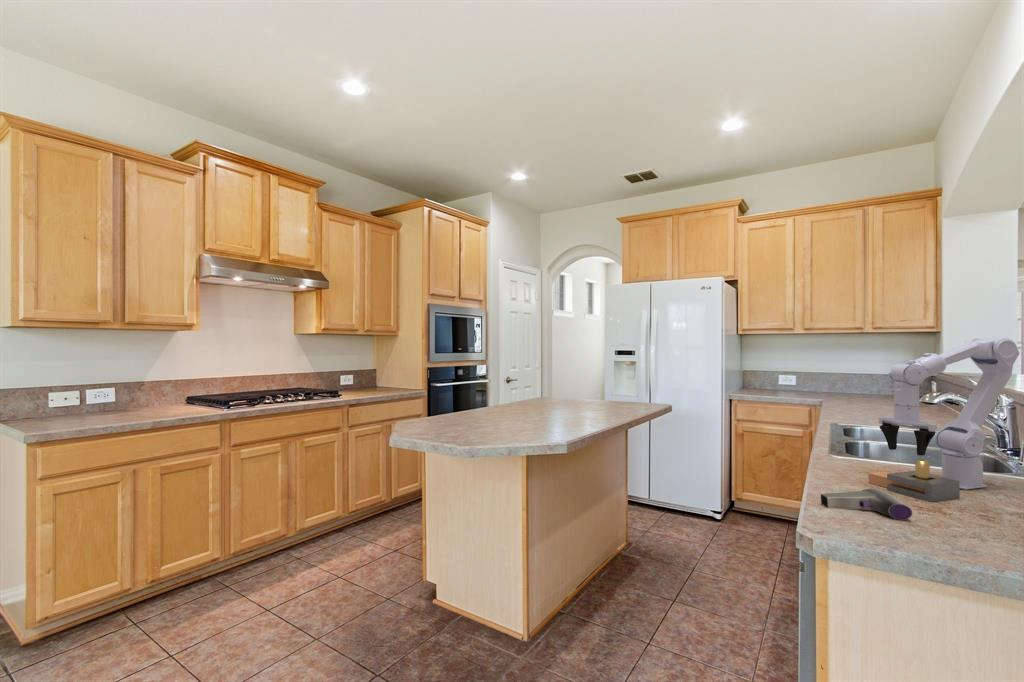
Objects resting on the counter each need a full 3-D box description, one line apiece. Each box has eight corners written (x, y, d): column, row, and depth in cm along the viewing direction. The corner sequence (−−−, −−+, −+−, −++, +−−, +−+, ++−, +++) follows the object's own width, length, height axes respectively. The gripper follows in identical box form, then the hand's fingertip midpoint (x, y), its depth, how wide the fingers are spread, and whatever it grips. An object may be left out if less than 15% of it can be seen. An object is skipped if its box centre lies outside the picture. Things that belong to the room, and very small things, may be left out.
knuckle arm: (885, 481, 145) (885, 471, 145) (946, 496, 131) (946, 485, 131) (868, 483, 143) (868, 473, 143) (928, 499, 128) (928, 488, 128)
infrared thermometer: (819, 506, 125) (881, 505, 124) (846, 524, 113) (916, 522, 112) (818, 489, 125) (880, 487, 124) (845, 504, 113) (914, 502, 112)
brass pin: (920, 491, 135) (920, 459, 135) (932, 495, 132) (932, 461, 132) (912, 492, 134) (912, 459, 134) (924, 496, 131) (924, 462, 131)
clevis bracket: (913, 486, 140) (914, 470, 140) (959, 498, 129) (959, 481, 129) (886, 489, 136) (886, 473, 136) (931, 502, 126) (931, 484, 126)
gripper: (871, 403, 147) (871, 447, 147) (925, 409, 134) (925, 458, 134) (887, 402, 150) (887, 446, 150) (942, 408, 136) (942, 457, 136)
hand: (906, 452), depth 142 cm, fingers open, 7 cm apart
